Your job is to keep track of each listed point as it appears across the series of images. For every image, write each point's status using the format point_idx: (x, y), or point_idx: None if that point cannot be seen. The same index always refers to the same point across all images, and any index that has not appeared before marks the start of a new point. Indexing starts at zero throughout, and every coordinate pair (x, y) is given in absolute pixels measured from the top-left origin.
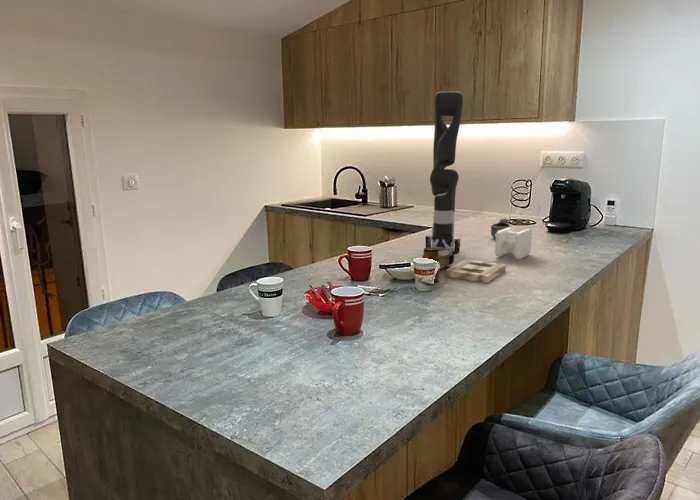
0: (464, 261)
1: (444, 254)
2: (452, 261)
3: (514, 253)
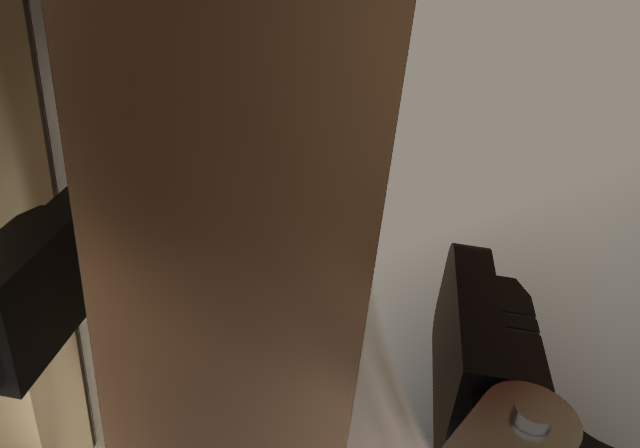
0: (9, 419)
1: (150, 358)
2: (9, 223)
3: None
